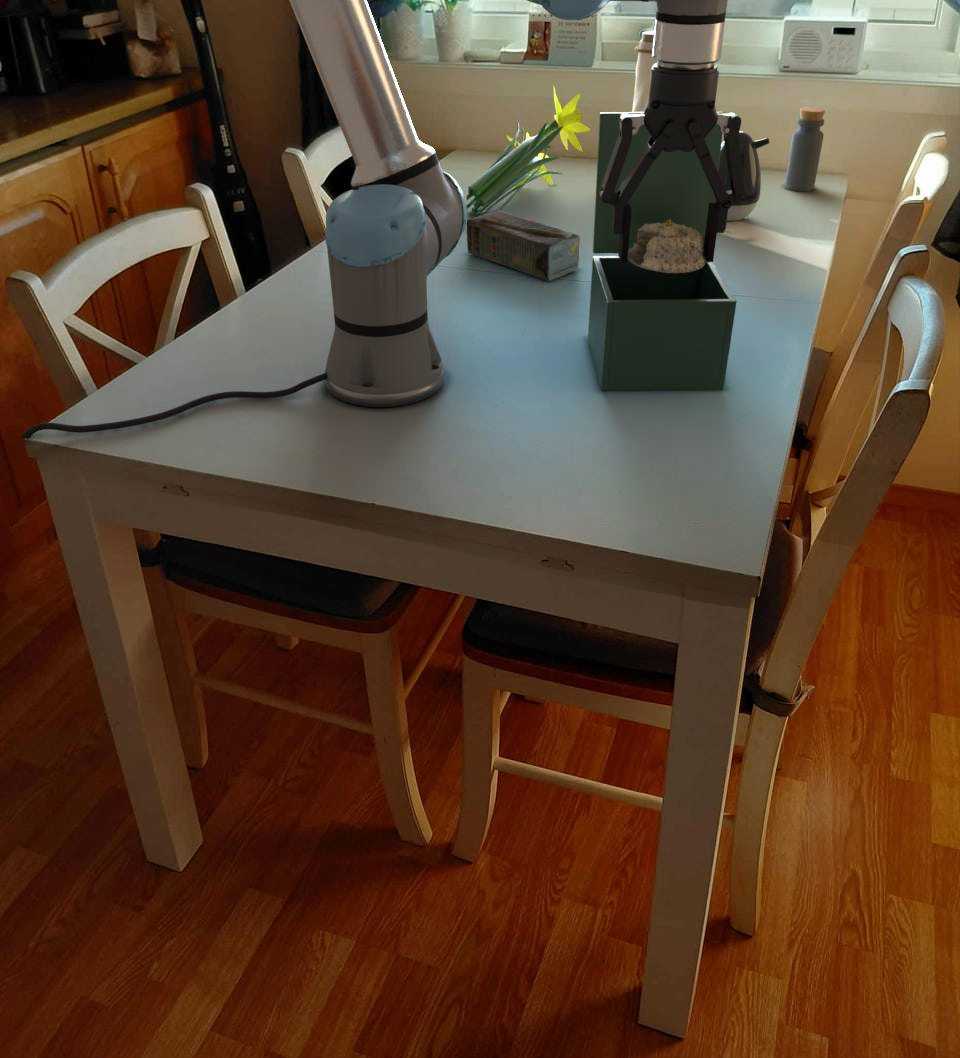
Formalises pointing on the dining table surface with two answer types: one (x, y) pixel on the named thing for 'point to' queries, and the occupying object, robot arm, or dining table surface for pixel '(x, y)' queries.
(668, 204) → the bin lid
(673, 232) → the cake
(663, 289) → the bin
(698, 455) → the dining table surface
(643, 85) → the water bottle
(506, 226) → the beverage carton
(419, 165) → the robot arm
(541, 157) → the daffodil flowers
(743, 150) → the pump dispenser
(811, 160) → the bottle
